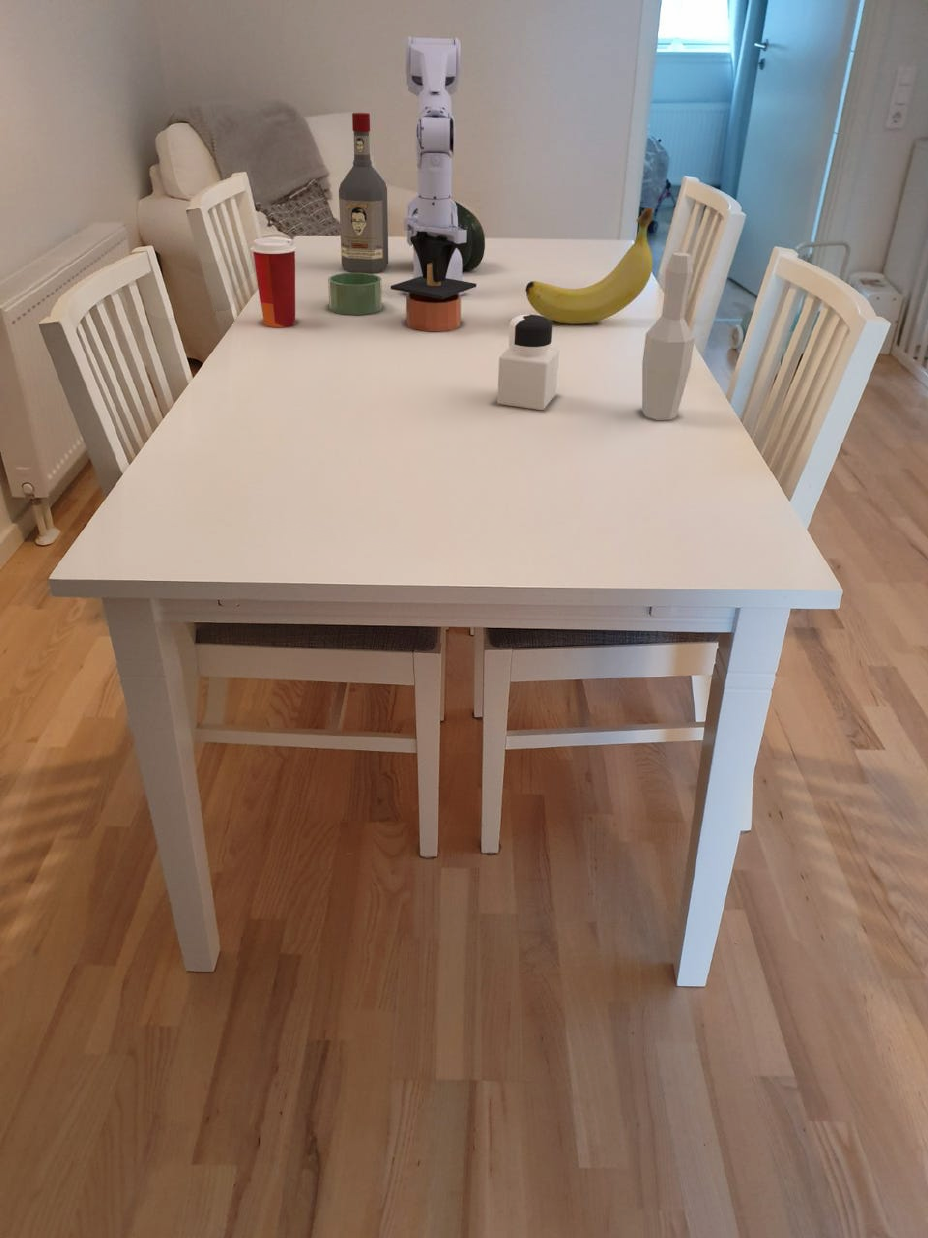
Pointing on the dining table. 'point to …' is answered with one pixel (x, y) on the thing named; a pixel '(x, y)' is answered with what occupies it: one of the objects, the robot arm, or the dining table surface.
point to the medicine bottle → (528, 364)
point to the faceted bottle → (668, 345)
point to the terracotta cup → (433, 312)
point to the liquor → (363, 208)
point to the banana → (598, 287)
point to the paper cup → (276, 279)
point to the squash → (470, 239)
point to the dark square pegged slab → (433, 286)
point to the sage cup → (355, 293)
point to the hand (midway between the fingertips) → (434, 279)
